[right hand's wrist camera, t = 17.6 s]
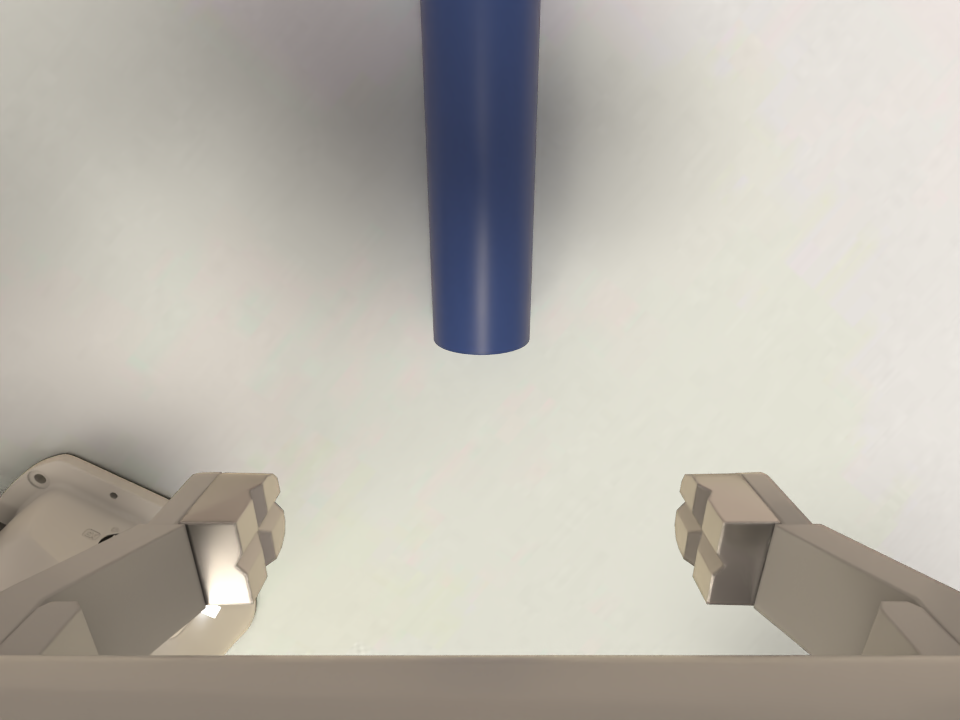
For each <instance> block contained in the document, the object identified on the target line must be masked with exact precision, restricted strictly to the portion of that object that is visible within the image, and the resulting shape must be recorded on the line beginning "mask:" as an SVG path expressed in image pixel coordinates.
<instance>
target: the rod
mask: <svg viewBox="0 0 960 720" xmlns="http://www.w3.org/2000/svg"><path fill="white" fill-rule="evenodd" d="M420 1H421V26H422V51H423V76H424V102H425V127H426V152H427V178H428V203H429V228H430V254H431V279H432V304H433V330H434V341H435V343H436V344H437V345H438V346H439V347H441V348H443V349H446V350H449V351H452V352H456V353H462V354H472V355H490V354H500V353H506V352H510V351H514V350H517V349H520V348H522V347H523V346H525V345H526V344H527V343H528V342H529V338H530V307H531V276H532V245H533V214H534V184H535V153H536V122H537V91H538V60H539V29H540V0H420Z"/></svg>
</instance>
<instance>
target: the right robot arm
mask: <svg viewBox="0 0 960 720" xmlns="http://www.w3.org/2000/svg"><path fill="white" fill-rule="evenodd" d="M279 493H280V488H279V483H278V478H277V477H276V476H275V475H274V474H271V473H221V472H202V473H196V474H193V475H192V476H191V477H190V478H189V479H188V480H187V481H186V483H185V484H184V485H183V486H182V487H181V488H180V489H179V490H178V491H177V492H176V493H175V494H174V496H173V497H172V498H171V499H170V500H169V499H167V498H164V497H162V496H160V495H158V494H156V493H154V492H151V491H149V490H147V489H145V488H143V487H141V486H138V485H136V484H134V483H132V482H130V481H128V480H125V479H123V478H121V477H119V476H117V475H115V474H112V473H110V472H108V471H106V470H104V469H102V468H99V467H97V466H95V465H93V464H91V463H89V462H86V461H84V460H82V459H80V458H78V457H75V456H72V455H69V454H62V455H57V456H53V457H50V458H47V459H45V460H43V461H40V462H39V463H37V464H35V465H34V466H32V467H31V468H30V469H28V470H27V471H26V472H24V473H23V474H22V475H21V476H20V477H19V478H17V479H16V480H15V481H14V482H13V483H12V484H11V485H10V486H9V487H8V488H7V490H6V491H5V492H4V493H3V495H2V496H1V497H0V720H960V592H959V591H957V590H955V589H953V588H951V587H949V586H947V585H945V584H943V583H941V582H939V581H937V580H935V579H932V578H930V577H928V576H926V575H924V574H922V573H920V572H918V571H916V570H914V569H912V568H910V567H908V566H906V565H904V564H902V563H900V562H898V561H896V560H894V559H892V558H889V557H887V556H885V555H883V554H881V553H879V552H877V551H875V550H873V549H871V548H869V547H867V546H865V545H863V544H861V543H859V542H857V541H855V540H853V539H851V538H848V537H846V536H844V535H842V534H840V533H838V532H836V531H834V530H832V529H830V528H828V527H826V526H824V525H822V524H812V523H811V522H810V521H809V520H808V518H807V517H806V516H805V515H804V514H803V513H802V512H801V511H800V510H799V509H798V508H797V506H796V505H795V504H794V503H793V502H792V501H791V500H790V499H789V498H788V497H787V496H786V494H785V493H784V492H783V491H782V490H781V489H780V488H779V487H778V486H777V485H776V484H775V482H774V481H773V480H772V479H771V478H770V477H769V476H768V475H767V474H764V473H762V472H748V473H728V474H685V475H684V477H683V479H682V482H681V487H680V493H681V495H682V497H683V498H684V500H685V502H684V503H683V504H682V505H681V506H680V507H679V508H678V509H677V511H676V518H675V535H676V541H677V544H678V548H679V550H680V552H681V554H682V557H683V559H685V560H686V561H687V562H689V563H690V564H692V565H693V566H694V571H693V578H694V580H695V582H696V584H697V586H698V588H699V590H700V592H701V594H702V596H703V598H704V600H705V601H706V603H707V604H717V605H753V606H754V608H755V609H756V610H757V611H758V612H759V613H761V614H762V615H763V616H764V617H765V618H767V619H768V620H769V621H770V622H771V623H773V624H774V625H775V626H776V627H778V628H779V629H780V630H781V631H782V632H784V633H785V634H786V635H787V636H788V637H790V638H791V639H792V640H793V641H794V642H796V643H797V644H798V645H799V646H800V647H802V648H803V649H804V650H805V651H807V652H808V653H809V654H810V655H225V654H226V652H227V651H228V650H229V649H230V648H231V647H232V646H233V644H234V643H235V642H236V641H237V640H238V639H239V638H240V637H241V636H242V635H243V634H244V633H245V632H246V631H247V629H248V628H249V626H250V625H251V623H252V621H253V618H254V614H255V609H256V598H257V596H258V594H259V592H260V590H261V588H262V586H263V584H264V582H265V580H266V578H267V571H266V566H267V565H268V564H270V563H271V562H273V561H274V560H275V559H277V556H278V554H279V552H280V550H281V548H282V544H283V540H284V535H285V517H284V511H283V510H282V508H281V507H280V506H279V505H278V504H277V503H276V502H275V500H276V498H277V497H278V495H279Z"/></svg>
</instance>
